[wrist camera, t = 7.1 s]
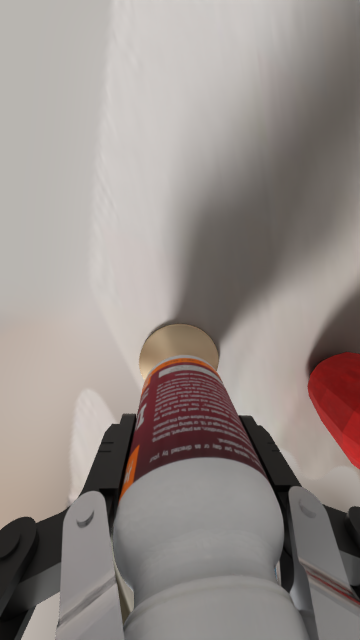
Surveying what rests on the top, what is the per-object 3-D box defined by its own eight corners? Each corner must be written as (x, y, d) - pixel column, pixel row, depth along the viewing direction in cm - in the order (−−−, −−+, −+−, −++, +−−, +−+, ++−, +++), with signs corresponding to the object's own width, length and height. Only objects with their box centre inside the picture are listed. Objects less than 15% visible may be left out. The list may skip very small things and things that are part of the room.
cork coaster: (140, 321, 16) (139, 323, 16) (222, 326, 17) (224, 328, 16) (139, 391, 19) (138, 395, 18) (211, 393, 19) (213, 397, 19)
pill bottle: (134, 361, 13) (-15, 762, 2) (214, 344, 13) (413, 666, 2) (153, 423, 15) (117, 812, 4) (223, 409, 15) (362, 756, 4)
